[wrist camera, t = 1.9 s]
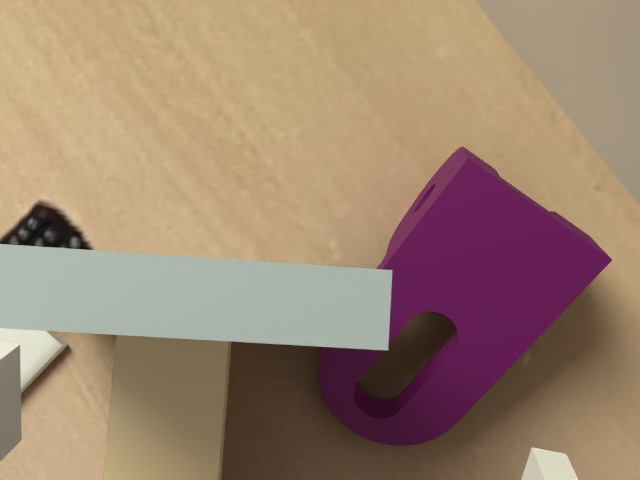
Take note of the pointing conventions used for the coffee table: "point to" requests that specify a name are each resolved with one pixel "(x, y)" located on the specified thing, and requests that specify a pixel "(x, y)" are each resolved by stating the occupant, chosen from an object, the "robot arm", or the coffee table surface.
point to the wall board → (184, 335)
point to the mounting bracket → (463, 298)
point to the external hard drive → (33, 351)
